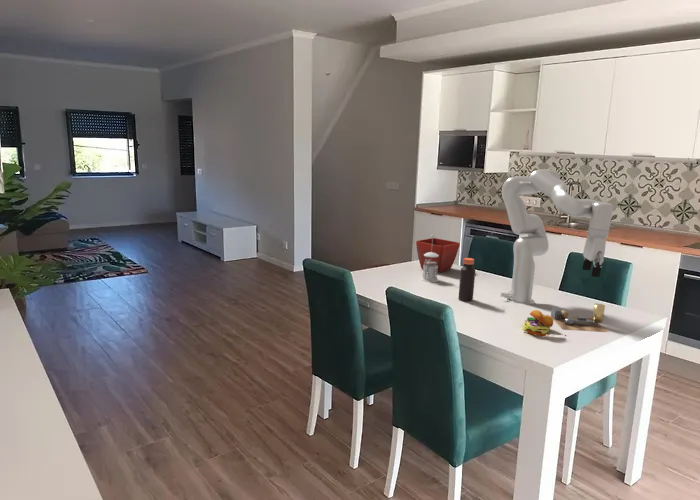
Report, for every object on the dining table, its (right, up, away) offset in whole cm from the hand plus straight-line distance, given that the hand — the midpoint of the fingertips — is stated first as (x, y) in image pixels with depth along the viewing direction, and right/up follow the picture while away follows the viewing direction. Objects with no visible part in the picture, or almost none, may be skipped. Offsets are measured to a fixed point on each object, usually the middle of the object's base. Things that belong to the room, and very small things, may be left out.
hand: (590, 273), depth 210 cm
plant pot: (-48, -2, +92) cm, 104 cm away
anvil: (-12, -19, +7) cm, 24 cm away
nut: (-8, -20, +7) cm, 22 cm away
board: (-5, -22, +1) cm, 23 cm away
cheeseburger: (-25, -24, -8) cm, 36 cm away
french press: (-56, -7, +67) cm, 88 cm away
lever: (-3, -21, 0) cm, 21 cm away
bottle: (-44, -14, +33) cm, 57 cm away
